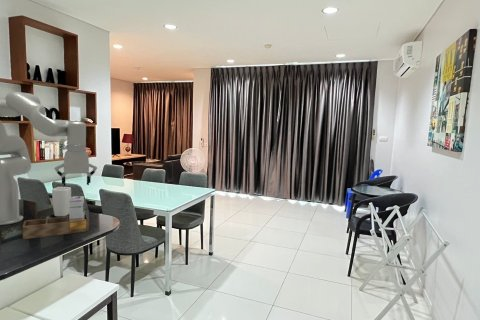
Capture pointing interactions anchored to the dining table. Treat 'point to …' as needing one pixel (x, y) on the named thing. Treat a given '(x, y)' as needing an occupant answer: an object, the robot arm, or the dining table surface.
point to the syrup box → (76, 208)
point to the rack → (53, 227)
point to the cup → (61, 201)
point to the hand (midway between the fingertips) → (76, 184)
